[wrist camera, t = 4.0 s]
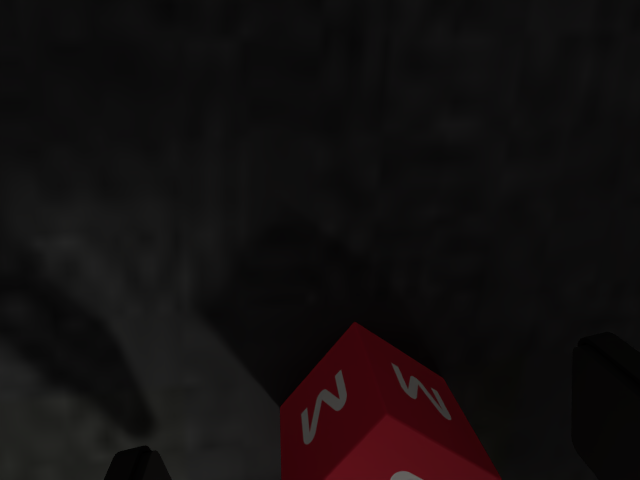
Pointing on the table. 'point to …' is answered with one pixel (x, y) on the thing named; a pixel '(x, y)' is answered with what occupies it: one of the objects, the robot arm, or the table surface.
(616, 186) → the table surface
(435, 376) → the red letter cube
